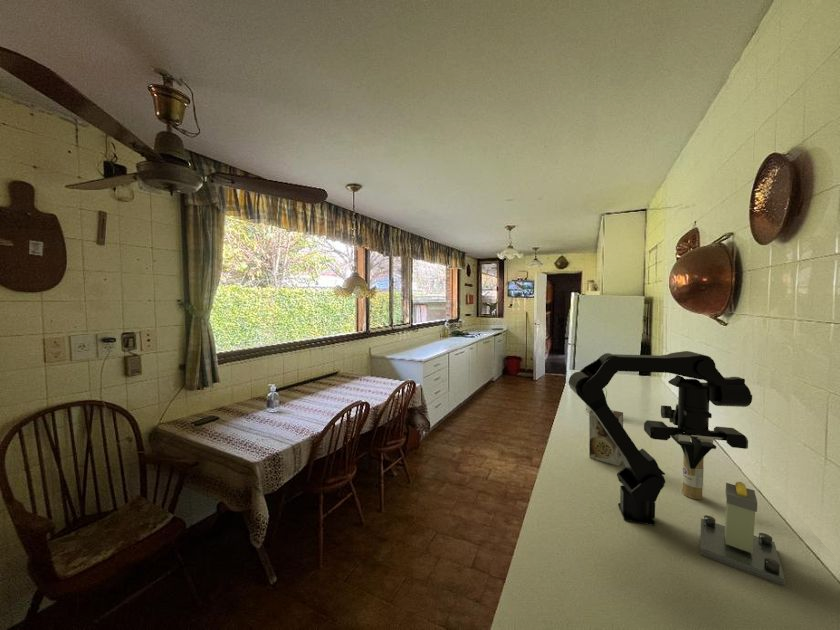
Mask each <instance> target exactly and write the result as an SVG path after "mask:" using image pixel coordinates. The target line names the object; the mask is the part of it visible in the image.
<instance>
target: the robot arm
mask: <svg viewBox="0 0 840 630" xmlns="http://www.w3.org/2000/svg"><path fill="white" fill-rule="evenodd" d="M618 372H628V373H629V372H630V373H631V372H633V373H634V372H635V373H636V372H637V373H638V372H639V373H658V374H659V373H660V374H661V373H663V374H667V373H668V374H672V375H675V377H673V378H671V379H670V380H668V384H670V385H671V386H674V387H676V388H678V395H677V396H678V397H677V398H678V401H677V404H676V405H675V409H672V406H671V405H660V416H661V418H662V419H668V420H669V423H672V425H674V426H668V425H667V424H666V423H665V422H664V421H661V420H659V421H658V420H646V421H645V422H644V423H643V431H644V432H645V433H646V434H647V435H648V437H649V438H650V439H652V440H659V441H660V440H661V441H668V440H670V439H671V438H672V439H673V440H674V441H675V442H676V444H677V445H679V447H681V450H682V453H684V454H683V456H684V455H685V458H686V461H687V463H688V466H689V467H690V469H695V468H696V466H697V465H698V464H699V462H700V461H701V460H702V458H703V457H704V456H706V455H707V454H708V453H709V452H710V451H711V450H716V449H717V445H715V444H714V441H715V440H716V441H717V440H718V441H726V444H727V445H728V446H730V447H731V448H733V449H743V450H745V449H749V440H748V437H747V436H746V435H744V434H743V433H742V432H740V431H739V430H737V429H736V428H734V427H728V426H727V427H726V426H714V428H713V430H710V429H709V423H710V422H709V420H710V419H712V413H711V412H710V402H711V404H712V405H715V406H716V407H740V408H741V407H743V408H744V407H745V408H746V407H747V408H748V407H749V406H750V405H751V403H752V402H753V394H752V393H751V390H750V388H749V387H748V385H747V384H746V383H745V382H746V378H743V377H740V376H730V377H727V376H726V377H724V376H723V375H722V374H721V372H720V371H719V370H718V369H717V366H716V362H715V361H714V359H713V358H712V357H711V356H708V355H705V354H702V353H698V352H693V351H689V350H685V351H684V350H683V351H675V352H671V353H668V354H662V355H661V354H660V355H659V354H658V355H657V354H656V355H653V354H652V355H651V354H645V355H644V354H616V353H615V354H612V353H609V352H607V353H603V354H602V355H601V356H600V357H598V358H597V359H596V361H595V360H594V361H593V362H591V363H589V364H587V365H585V366H584V367H583V368H582V369H581V370H580V371H575V372H574V373H572V374H571V375H570V377H569V378H568V382H567V383H568V386H569V389H571V390H572V391H573V393H575V394H576V395H577V397H578V398H580V400H582V402H583V403H584V404H585V405H586V404H587V405H588V406H589V408H590V409H591V410H592V412H593V413H594V415H595V416H596V417H597V419H598V420H599V422H600V423H601V425H602V426H603V428H604V429H605V431H606V432H607V434H608V435H609V437H610V438H611V439H612V441H613V442H614V444H615V445H616V447H617V448H618V450H619V451H620V453H621V455H622V459H623V461H622V462H623V464H624V467H623V468H622V469H621V470H619V471H618V472H616V476H617V477H616V478H617V479H618V482H619V483H621V485H620V487H619V488H620V490H619V491H620V494H619V495H620V496H619V499H620V500H619V502H618V504H617V506H618V508H619V511H620V513H621V515H622V518H623V520H625V521H627V522H632V523H639V524H644V525H651V526H655V525H656V522H655V520H654V519H656V501H657V499H658V498H659V497H658V496H659V495H660V493H661V491H662V490H663V488H664V487H665V484H666V479H665V477H664V475H666V473H665V472H664V471H663V470H662V468H660V466H659V464H658V462H657V461H656V460H657V459H655V458H654V457H653V456H652V455H650V454H649V453H648V452H647V450H645V449H644V448H641V449H638V447H637V446H636V444H635V443H634V442H633V440H632V438H631V437H630V435H629V434H628V433H627V431H626V430H625V428H624V426H623V427H622V425H621V424H620V422H619V421H618V420H617V418H616V417H615V415H614V414H613V412H612V411H611V410H612V409H611V408H610V406H609V405H608V402H607V397H606V393H604V392H605V391H604V392H603V390H604V389H605V388H606V387H607V386H608V384H609V383H610V382H611V380H612V379H613V377H614V376H615V375H616V374H617V373H618ZM684 377H686V378H684ZM700 380H703V381H706V382H701V381H700ZM604 387H605V388H604ZM602 389H603V390H602ZM675 426H676V427H675ZM704 458H705V457H704Z"/></svg>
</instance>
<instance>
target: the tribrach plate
mask: <svg viewBox="0 0 840 630" xmlns="http://www.w3.org/2000/svg"><path fill="white" fill-rule="evenodd" d="M700 555H701V556H703V557H706V558H708V559H711V560H714V561H717V562H719V563H721V564H725V565H727V566H730V567H732V568H735V569H738V570H741V571H743V572H745V573H749V574H751V575H753V576H755V577H758V578H761V579H764V580H767V581H769V582H772V583H773V584H777V585H779V586H783V587H785V575H784V571H783V568H782V564H781V561H780V557H779V554H778V551H777V546H776V544H775V541H773V537H772V536H770V535H769V534H767V533H764V532H759V533H758V536H757V535H754V539H753V554H752V553H749V552H747V551H744V550H741V549H738V548H736V547H733V546H730V545H727V544H726V541H725V525H723V524H720V523H716V519H715V517H713V516H710V515H708V514H707V515H706V514H705V515H704V516H703V518H700Z"/></svg>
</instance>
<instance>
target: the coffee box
mask: <svg viewBox="0 0 840 630" xmlns="http://www.w3.org/2000/svg"><path fill="white" fill-rule="evenodd" d="M611 411H612V412H613V414H614V415H615V417H616V418H617V420H618V421H619V422H620V424H621V425H622V427H623V428H624V412H622V411H619V410H618V411H617V410H612V409H611ZM588 416H589V417H588V418H589V419H588V420H589V421H588V422H589V423H588V424H589V425H588V426H589V427H588V428H589V429H588V430H589V431H588V432H589V433H588V434H589V437H588V438H589V444H588V446H589V449H588V450H589V455H588V456H589V459H593V460H597V461H600V462H603V463H607V464H610V465H613V466H616V467H619V466H620V465H621V464H622V462H623V459H622V455H621V453H620V451H619V450H618V448H617V447H616V445H615V444H614V442H613V441H612V439H611V438H610V437H609V435H608V434H607V432H606V431H605V429H604V428H603V426H602V425H601V423H600V422H599V420H598V419H597V417H596V416H595V415H594V413H593V412H592V410H591V411H590V412H589V415H588Z"/></svg>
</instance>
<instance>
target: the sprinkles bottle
mask: <svg viewBox="0 0 840 630" xmlns="http://www.w3.org/2000/svg"><path fill="white" fill-rule="evenodd" d="M682 453H683V452H682ZM705 456H706V455H705ZM705 456H704V457H703V458H702V460H701V461H700V462H699V464H698V465H697V466H696V468H695V469H690V467H689V466H688V463H687V461H686V458H685V455H684V453H683V460H682V461H683V462H682V477H681V478H682V479H681V480H682V488H681V493H682V494H683V495H684V496H686V497H687V498H689V499H694V500H702V499H703V498H704V495H703V488H704V461H705V460H704V459H705Z"/></svg>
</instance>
